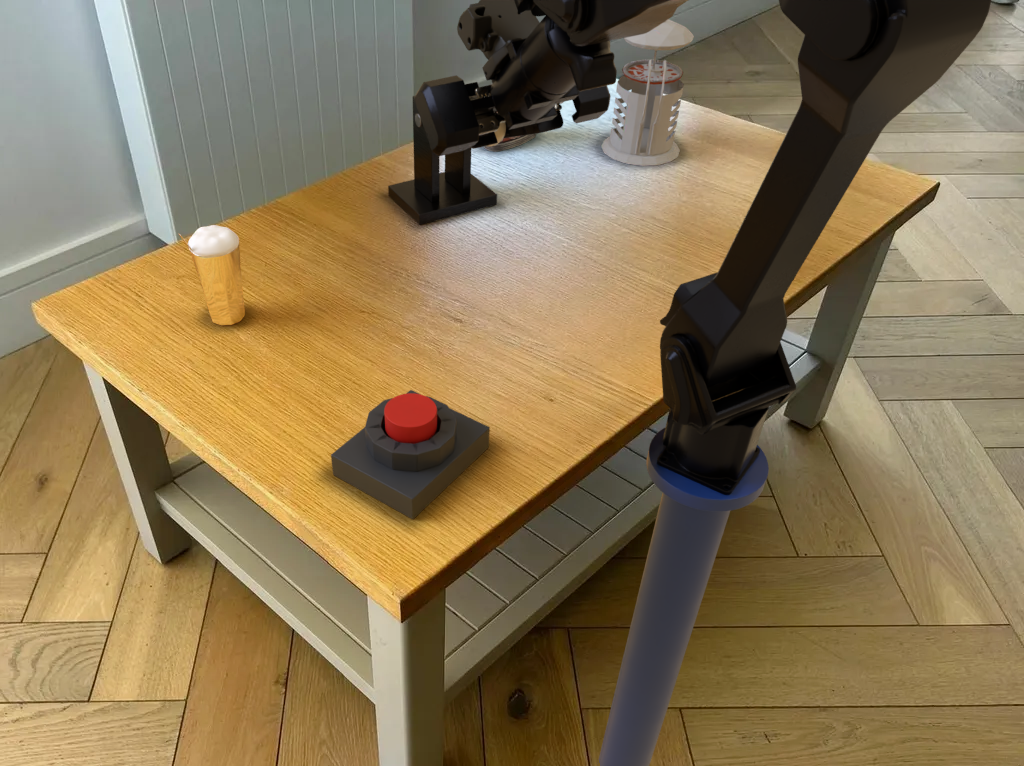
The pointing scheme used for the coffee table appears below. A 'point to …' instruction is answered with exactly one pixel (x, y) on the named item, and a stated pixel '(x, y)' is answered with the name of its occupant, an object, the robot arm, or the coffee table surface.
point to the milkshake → (219, 272)
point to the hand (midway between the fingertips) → (481, 137)
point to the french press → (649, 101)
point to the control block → (409, 459)
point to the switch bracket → (439, 183)
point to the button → (410, 418)
